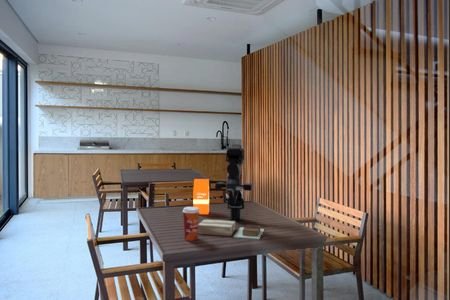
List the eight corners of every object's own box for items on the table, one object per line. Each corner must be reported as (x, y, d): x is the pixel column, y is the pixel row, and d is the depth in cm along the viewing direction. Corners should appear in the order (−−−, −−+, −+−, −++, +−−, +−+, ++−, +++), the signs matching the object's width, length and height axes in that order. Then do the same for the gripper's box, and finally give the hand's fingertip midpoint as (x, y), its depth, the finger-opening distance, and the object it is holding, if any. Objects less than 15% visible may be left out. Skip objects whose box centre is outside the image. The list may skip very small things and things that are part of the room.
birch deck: (204, 226, 185) (204, 219, 185) (235, 229, 182) (235, 221, 181) (197, 233, 174) (197, 225, 173) (230, 235, 170) (230, 227, 170)
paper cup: (188, 242, 160) (188, 211, 159) (179, 238, 166) (179, 207, 165) (203, 239, 164) (203, 208, 163) (194, 235, 170) (194, 205, 170)
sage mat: (240, 228, 183) (240, 227, 183) (264, 230, 180) (264, 229, 180) (233, 237, 168) (233, 236, 168) (259, 239, 165) (259, 238, 165)
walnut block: (260, 225, 177) (260, 231, 177) (246, 224, 178) (246, 230, 178) (257, 230, 168) (257, 236, 168) (242, 229, 170) (242, 235, 170)
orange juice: (208, 214, 213) (208, 180, 212) (193, 214, 213) (193, 179, 212) (209, 211, 221) (209, 178, 220) (194, 211, 221) (194, 178, 220)
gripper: (212, 173, 180) (211, 205, 181) (249, 175, 175) (249, 207, 176) (217, 171, 190) (217, 200, 191) (253, 172, 186) (253, 202, 187)
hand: (233, 203), depth 186 cm, fingers closed
